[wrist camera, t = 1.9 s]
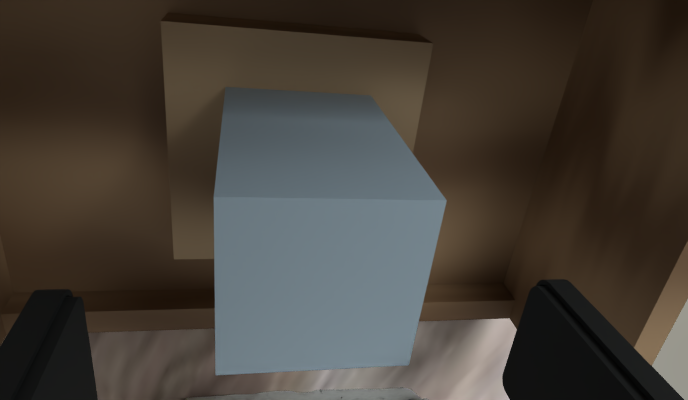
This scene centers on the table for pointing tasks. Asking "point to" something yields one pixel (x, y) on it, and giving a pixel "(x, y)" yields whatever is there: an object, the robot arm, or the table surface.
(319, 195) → the block
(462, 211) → the crate
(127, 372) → the table surface
